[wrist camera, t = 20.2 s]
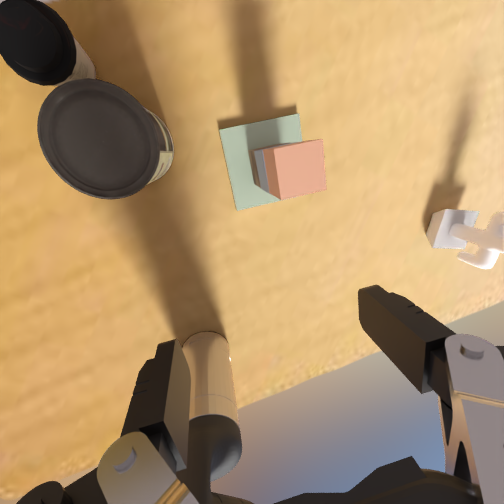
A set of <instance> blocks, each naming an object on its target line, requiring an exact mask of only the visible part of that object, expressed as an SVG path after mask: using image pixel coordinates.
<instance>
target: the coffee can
mask: <svg viewBox="0 0 504 504" xmlns="http://www.w3.org/2000/svg"><path fill="white" fill-rule="evenodd" d="M37 131H38V138H39V142H40V146H41V149H42V151H43V154H44V156H45V158H46V160H47V161H48V163H49V165H50V166H51V167H52V169H53V170H54V171H55V172H56V174H57V175H58V176H59V177H60V178H61V179H62V180H63V181H65V182H66V183H67V184H69V185H70V186H71V187H73V188H74V189H76V190H78V191H80V192H82V193H84V194H87V195H89V196H92V197H96V198H101V199H120V198H124V197H128V196H131V195H133V194H135V193H137V192H138V191H140V190H141V189H142V188H144V187H145V186H146V185H148V184H149V183H151V182H153V181H155V180H157V179H159V178H161V177H162V176H163V175H164V174H165V173H166V172H167V171H168V169H169V168H170V166H171V163H172V160H173V156H174V145H173V140H172V137H171V134H170V132H169V130H168V128H167V127H166V125H165V124H164V122H163V121H162V120H161V119H160V118H159V117H158V116H156V115H155V114H154V113H152V112H151V111H149V110H147V109H146V108H145V107H143V106H142V105H141V104H140V103H139V102H138V101H137V100H136V99H135V98H134V97H133V96H132V95H130V94H129V93H128V92H126V91H125V90H123V89H122V88H120V87H118V86H116V85H113V84H111V83H109V82H105V81H102V80H97V79H89V78H85V79H76V80H72V81H68V82H66V83H64V84H62V85H60V86H58V87H57V88H55V89H54V90H53V91H52V92H51V93H50V94H49V95H48V96H47V98H46V99H45V101H44V102H43V104H42V106H41V109H40V112H39V116H38V125H37Z"/></svg>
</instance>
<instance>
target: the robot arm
mask: <svg viewBox="0 0 504 504" xmlns="http://www.w3.org/2000/svg"><path fill="white" fill-rule="evenodd" d="M358 305H359V320H360V323H361V326H362V328H363V330H364V331H365V332H366V333H367V334H368V336H369V337H370V338H371V339H372V340H373V341H374V342H375V343H376V344H377V345H378V347H379V348H380V349H381V350H382V351H383V352H384V353H385V354H386V355H387V356H388V357H389V359H390V360H391V361H392V362H393V363H394V364H395V365H396V366H397V367H398V369H399V370H400V371H401V372H402V373H403V374H404V375H405V376H406V377H407V379H408V380H409V381H410V382H411V383H412V384H413V385H414V386H415V387H416V388H417V389H418V391H419V392H420V393H421V394H423V393H426V392H429V391H432V390H434V391H435V392H436V393H437V394H438V406H439V414H440V421H441V428H442V436H443V444H444V451H445V473H444V472H440V471H435V470H430V469H421V468H420V467H419V466H418V464H417V463H416V461H415V460H414V458H413V457H412V456H411V457H408V458H405V459H402V460H399V461H396V462H393V463H390V464H387V465H385V466H382V467H379V468H377V469H376V470H374V471H373V472H372V473H371V474H370V475H368V476H367V477H366V478H365V479H364V480H362V481H361V482H360V483H359V484H357V485H356V486H355V487H354V488H353V489H351V490H350V491H348V492H345V493H303V494H300V495H298V496H295V497H292V498H289V499H286V500H283V501H280V502H277V503H274V504H504V346H494V345H493V344H492V343H490V342H488V341H487V340H484V339H482V338H480V337H477V336H473V335H468V334H456V333H454V332H453V331H452V330H450V329H449V328H447V327H446V326H445V325H443V324H442V323H440V322H439V321H438V320H436V319H435V318H433V317H432V316H431V315H429V314H428V313H426V312H424V311H423V310H422V309H421V308H419V307H418V306H415V304H414V303H412V302H411V301H410V300H408V299H407V298H405V297H403V296H400V295H398V294H395V293H388V292H387V291H385V290H384V289H383V288H381V287H380V286H379V285H373V286H369V287H366V288H362V289H359V291H358ZM241 453H242V441H241V434H240V428H239V420H238V412H237V406H236V398H235V390H234V383H233V375H232V368H231V360H230V352H229V346H228V343H227V341H226V339H225V338H224V337H223V336H221V335H220V334H217V333H215V332H200V333H197V334H194V335H193V336H191V337H190V338H188V339H187V340H186V342H185V343H184V345H183V347H181V345H180V342H179V340H178V339H174V340H171V341H167V342H163V343H160V344H158V346H157V350H156V355H155V358H153V359H150V360H147V361H146V363H145V364H144V366H143V367H142V368H141V370H140V371H139V374H138V377H137V381H136V386H135V388H134V391H133V396H132V398H131V402H130V405H129V409H128V412H127V416H126V419H125V422H124V426H123V429H122V433H121V436H120V438H119V439H118V440H116V441H115V442H114V443H113V444H112V445H111V446H110V447H109V448H108V449H107V450H106V452H105V453H104V455H103V456H102V458H101V460H100V462H99V465H98V467H97V468H95V469H94V470H93V471H91V472H89V473H88V474H86V475H85V476H83V477H81V478H80V479H78V480H77V481H75V482H73V483H72V484H70V485H69V486H67V487H65V488H63V487H62V486H61V484H60V483H58V482H56V481H49V482H46V483H43V484H41V485H39V486H37V487H35V488H34V489H32V490H31V491H30V492H28V493H27V494H26V495H25V496H23V497H22V498H21V499H20V500H19V501H18V502H17V504H253V503H252V502H250V501H247V500H244V499H240V498H236V497H232V496H227V495H223V494H218V493H213V492H211V489H210V482H211V481H214V480H217V479H219V478H221V477H223V476H224V475H226V474H227V473H229V472H230V471H231V470H232V469H233V468H234V467H235V466H236V464H237V463H238V462H239V459H240V457H241Z"/></svg>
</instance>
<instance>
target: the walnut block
mask: <svg viewBox="0 0 504 504" xmlns="http://www.w3.org/2000/svg"><path fill="white" fill-rule="evenodd" d="M289 143H290V142H289ZM283 144H288V143H281V144H276V145H271V146H266V147H262V148H257V149H252V150H248V154H249V159H250V165H251V170H252V175H253V181H254V184H255V185H256V186H258V187H260V188H261V186H260V180H259V175H258V170H257V164H256V159H255V154H254V151H257V150H261V149H265V148H270V147H274V146H279V145H283Z"/></svg>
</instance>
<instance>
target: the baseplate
mask: <svg viewBox="0 0 504 504" xmlns="http://www.w3.org/2000/svg"><path fill="white" fill-rule="evenodd" d="M219 133H220V137H221V142H222V146H223V151H224V155H225V160H226V165H227V169H228V174H229V178H230V183H231V187H232V192H233V196H234V201H235V205H236V210H237V211H238V210H243V209H247V208H251V207H255V206H260V205H264V204H268V203H273V202H277V201H281V200H280V199H278V198H277V197H275V196H273V195H272V194H269V193H267V192H265V191H264V190H262V189H261V188H260V187H258V186H256V185H255V184H254V181H253V175H252V170H251V165H250V159H249V154H248V150H252V149H257V148H262V147H266V146H271V145H276V144H281V143H289V142H290V143H294V142H302V135H301V126H300V117H299V114H294V115H289V116H284V117H279V118H274V119H269V120H265V121H260V122H255V123H250V124H245V125H240V126H235V127H230V128H225V129H220V130H219ZM306 195H307V194H306ZM297 197H298V196H297ZM293 198H294V197H293ZM289 199H290V198H289ZM284 200H285V199H284Z"/></svg>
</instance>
